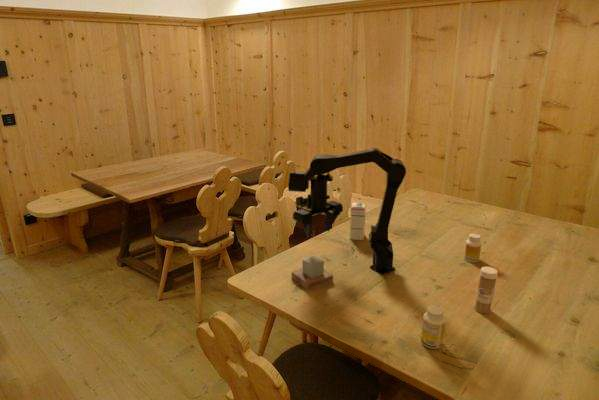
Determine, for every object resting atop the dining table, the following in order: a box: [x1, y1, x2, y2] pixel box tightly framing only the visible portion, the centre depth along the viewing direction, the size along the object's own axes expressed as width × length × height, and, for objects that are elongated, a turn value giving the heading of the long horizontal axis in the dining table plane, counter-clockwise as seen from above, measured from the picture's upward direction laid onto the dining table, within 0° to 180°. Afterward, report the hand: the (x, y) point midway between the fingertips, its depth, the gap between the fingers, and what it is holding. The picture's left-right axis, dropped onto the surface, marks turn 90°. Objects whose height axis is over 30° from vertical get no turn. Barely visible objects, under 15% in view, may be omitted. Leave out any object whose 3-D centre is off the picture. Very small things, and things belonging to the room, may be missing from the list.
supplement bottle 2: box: [463, 233, 482, 263], centre depth 150 cm, size 5×5×10 cm
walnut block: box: [291, 267, 334, 292], centre depth 137 cm, size 10×10×3 cm
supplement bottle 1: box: [420, 305, 447, 350], centre depth 105 cm, size 6×6×10 cm
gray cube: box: [302, 255, 325, 279], centre depth 135 cm, size 5×5×5 cm
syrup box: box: [349, 202, 367, 241], centre depth 168 cm, size 6×6×14 cm
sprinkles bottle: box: [474, 266, 499, 314], centre depth 119 cm, size 5×5×13 cm
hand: (318, 234), depth 144 cm, fingers open, 9 cm apart
